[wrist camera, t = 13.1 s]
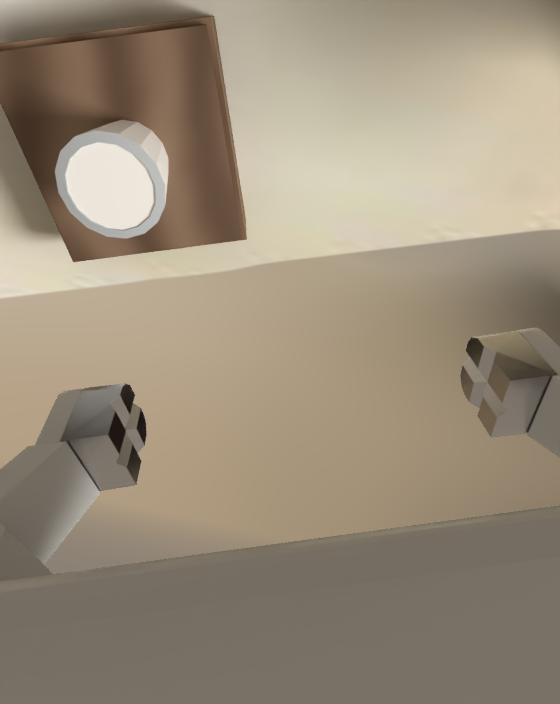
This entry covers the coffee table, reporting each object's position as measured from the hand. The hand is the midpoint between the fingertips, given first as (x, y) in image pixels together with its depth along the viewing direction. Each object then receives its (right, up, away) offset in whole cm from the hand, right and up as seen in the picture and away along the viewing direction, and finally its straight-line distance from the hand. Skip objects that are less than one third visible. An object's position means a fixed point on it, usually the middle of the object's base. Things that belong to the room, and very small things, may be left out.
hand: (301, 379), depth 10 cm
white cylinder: (-12, +16, +23) cm, 30 cm away
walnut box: (-13, +19, +27) cm, 36 cm away
